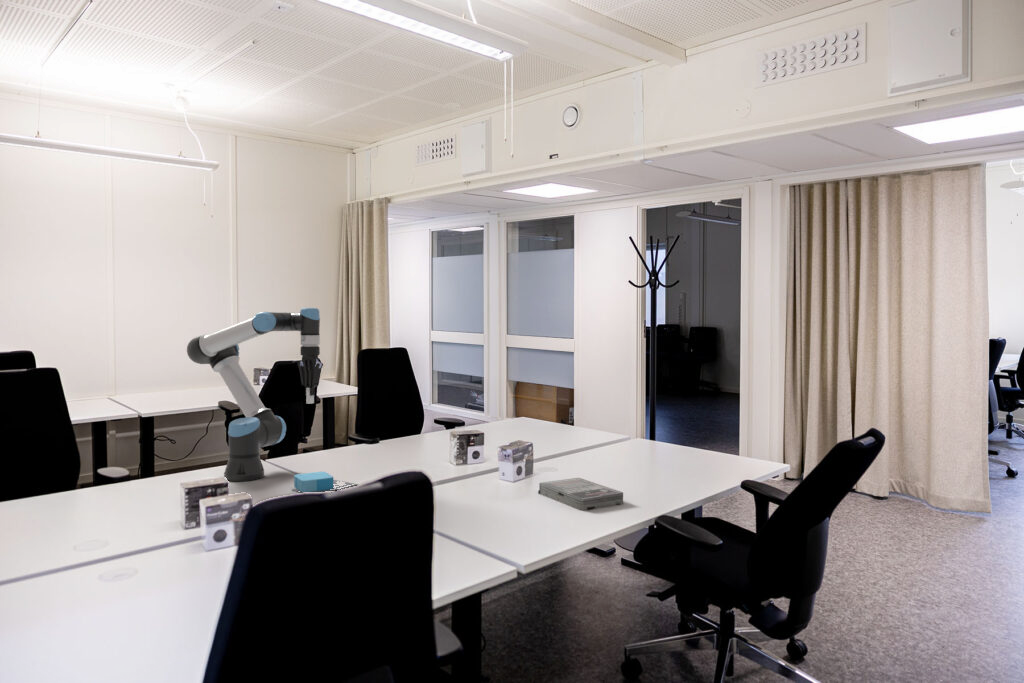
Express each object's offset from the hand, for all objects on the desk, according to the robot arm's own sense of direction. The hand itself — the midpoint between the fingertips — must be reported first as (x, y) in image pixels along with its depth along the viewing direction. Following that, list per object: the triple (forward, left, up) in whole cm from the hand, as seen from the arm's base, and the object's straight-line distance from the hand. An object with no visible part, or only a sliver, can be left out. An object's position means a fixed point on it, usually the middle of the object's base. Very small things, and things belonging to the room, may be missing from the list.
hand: (310, 403), depth 280 cm
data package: (+14, -13, -27) cm, 33 cm away
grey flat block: (+109, +29, -30) cm, 117 cm away
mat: (+22, -12, -29) cm, 39 cm away
